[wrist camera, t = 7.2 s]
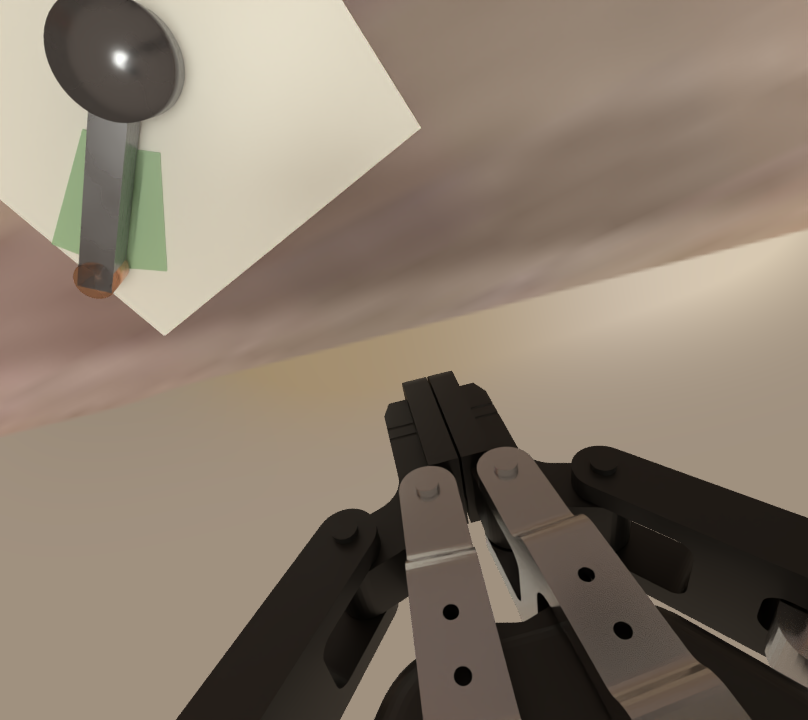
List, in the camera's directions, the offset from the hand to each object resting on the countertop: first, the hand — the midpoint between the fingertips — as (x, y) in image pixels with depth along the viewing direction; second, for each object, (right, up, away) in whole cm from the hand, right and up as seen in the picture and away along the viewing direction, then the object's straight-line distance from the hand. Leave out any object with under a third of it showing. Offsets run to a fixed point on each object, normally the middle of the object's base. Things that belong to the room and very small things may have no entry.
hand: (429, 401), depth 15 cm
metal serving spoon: (-15, +12, +11) cm, 22 cm away
